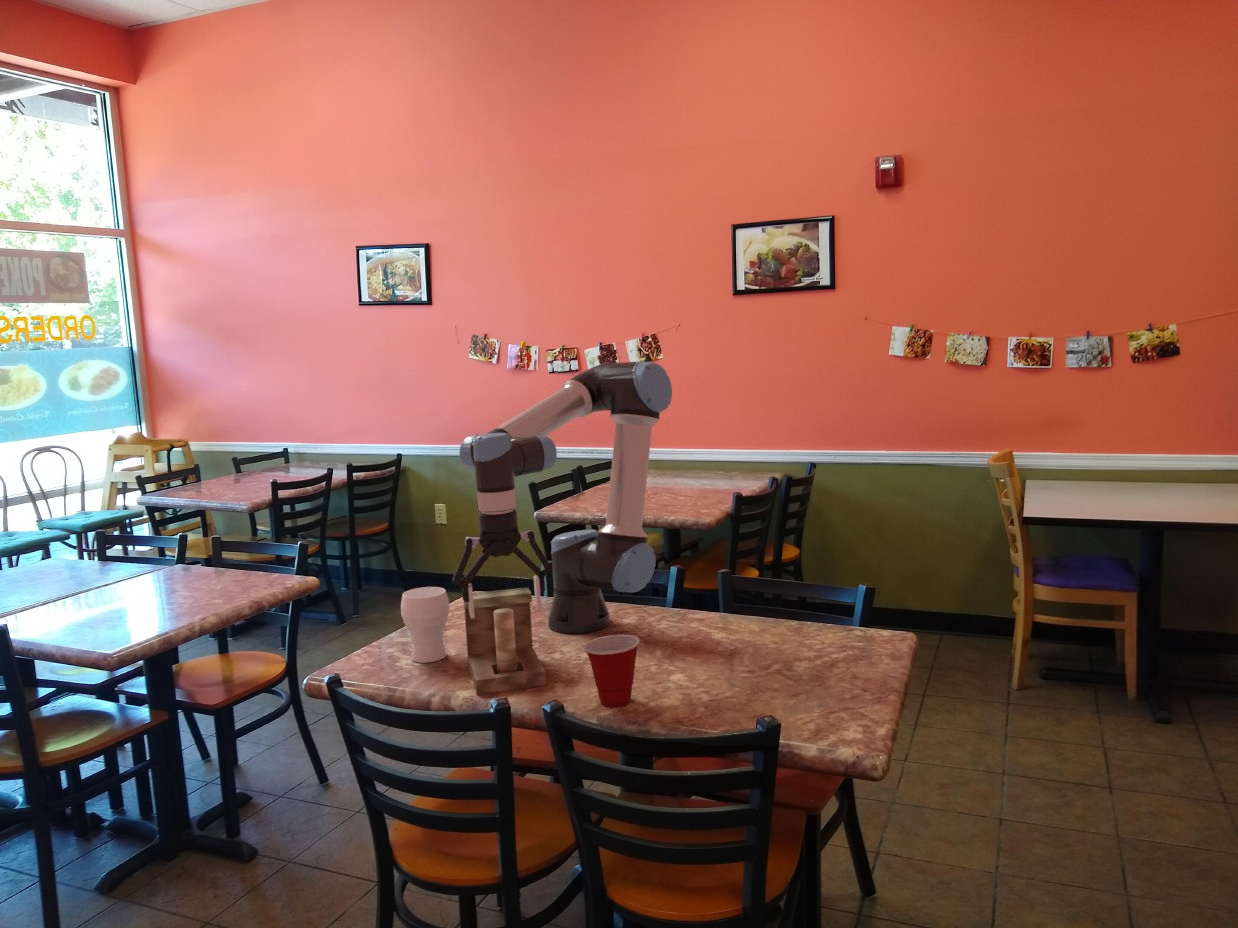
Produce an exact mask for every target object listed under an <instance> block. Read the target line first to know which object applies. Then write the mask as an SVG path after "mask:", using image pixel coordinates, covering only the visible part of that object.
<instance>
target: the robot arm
mask: <svg viewBox="0 0 1238 928" xmlns="http://www.w3.org/2000/svg"><path fill="white" fill-rule="evenodd" d="M672 398H673V388H672V382H671V379H670V377H669V375H668V373H667V371H666V370H665V368H664V367H663V366H662V365H660V364H659V363H656V362H652V361H642V360H638V361H626V362H625V361H624V362H605V363H601V364H598V365H594V366H593V367H590V368H588V369H586V370H584V371H582V372H580V373H579V374H577V375H574V376H573V377H572V378H569V379H568V380H566V381H565V382H563V384H562V385H561V387H560V390H558V391H556V392H554V393H552V394H551V395H549V396H548V397H545V398H544V399H542V400H541V401H539V402H537V403H536V404H534V405H532V406H530V407H528V408H527V409H526V410H524V411H522V412H521V413H519V414H517V415H516V416H514V417H512V418H510V419H509V420H507V421H506V422H504V423H502V424H501V425H499V426H497V427H495V428H493V429H492V430H490V431H488V432H486V433H483V434H475V435H468V436H467V437H466V438H464V440H462V442H461V444H460V445H459V446H460V447H459V457H460V460H461V463H462V464H463V466H465V467H466V468H467V469H471V470H474V472H475V482H476V490H477V491H476V493H477V504H478V506H477V507H478V510H479V511H480V513H479V514H478V519H479V529H480V534H479V537H471V536H469V535H467V536H466V537H464V538H465V539H464V549H463V550H462V553H461V556H460V559H459V561H458V563H457V565H456V568H455V571H454V573H453V575H452V579H451V581H452V585H454V586H460V587H461V592H462V593H461V594H462V601H463V603H464V602H469V611H470V617H471V619H473V618H475V614H474V603H473V593H474V592H473V585H472V583H471V582H472V581H473V579H474V578H475V576H476V575H477V574H478V572H479V571H480V570H481V568H482V567H483V565H484V564H485V562H486V561H488V560H489V558H490V557H493V558H499V557H501V556H504V557H508V556H510V555H512V554H514V555H516V557H518V558H519V559H520V560H521V561H522V562H523V563H524V564H525V565H526V566H527V567H528V568H529V569H530V570H532V572H533V573H535V575H533V587H534V589H533V590H534V602H535V603H534V604H535V608H536V609H537V610H538V611H539V610H542V599H541V597H542V596H541V593H545V591H546V586H545V585H546V584H545V577H546V576H547V575H548V574H552V581H553V598H552V602H551V605H550V608H549V609H550V610H549V613H548V617H547V621H548V623H547V624H548V628H549V629H551V630H552V631H555V632H559V633H565V634H583V633H590V632H591V633H592V632H597V631H600V630H602V629H605V628H606V627H608V626H609V625H610V623H611V619H610V617H611V616H610V615H611V614H610V611H609V609H608V606H607V604H606V601H605V599H604V596H603V593H602V589H605V590H611V591H612V590H613V591H616V592H618V593H621V592H622V593H636V592H639V591H641V590H642V589H644V588H645V587H646V585H647V584H649V582H650V581H651V579H652V577H653V574H654V573H655V567H656V564H657V563H656V561H657V560H656V554H655V553H654V552H655V551H654V548H652V546H650V545H649V544H648V535H647V533H646V532H645V530H643V520H644V509H645V499H646V491H647V490H646V489H647V479H648V471H649V460H650V449H651V442H652V441H651V439H652V432H653V431H652V429H653V427H654V426H655V425H656V424H657V423H659V421H660V413H662V412H664V411H666V410H667V409H668V407H669V406H670V405H671V401H672ZM604 411H605V412H607V411H609V412H610V415H609V416H610V418H611V419H612V420H613V422H614V423H615V430H614V438H613V449H612V450H613V451H612V461H611V469H610V479H609V488H608V489H609V490H608V499H607V510H606V516H605V517H606V519H605V524H604V526H603V527H602V528H600V529H599V530H597V529H582V530H574V531H569V532H568V531H567V532H563V533H560V534H557V535H555V536H554V537H553V538H552V540H551V552H550V555H551V557H550V558H551V564H550V563H549V561H548V560H547V558H546V556H545V555H544V553H543V552H542V550H541V548H540V547H539V545H538V544H537V542H536V538H535V537H536V536H535V532H534V531H533V530H532V529H529V528H528V529H526V531H522V532H521V531H519V527H518V516H517V515H518V513H517V511H516V509H515V508H517V502H516V501H517V500H516V491H515V488H516V487H515V478H517V477H521V476H525V475H526V476H527V475H530V474H535V473H542V472H544V471H547V470H550V469H551V468H553V466H554V465H555V463H556V462H557V457H558V455H557V454H558V452H557V447H556V444H555V442H554V441H553V440H552V439H551V438H550V437H548V436H549V435H550V434H551V433H554V432H555V431H557V430H558V429H560V428H561V427H563V426H564V425H566V424H568V423H569V422H571V421H573V420H574V419H576V418H585V417H587V416H589V415H590V414H592V413H596V412H604ZM521 539H523V540H524V542H526V543H528V544H529V545H530V547H531V549H532V550H533V552H534V554H535V555H536V557H537V559H538V560H539V562H540V563H541V565H542V566H543V567H541V568H540V567H539V566H538V565H537V564H536V563H535V562H534V561H533V560H532V559H531V558H530V557H529V556H527V554H526V553H525V552H524V551H522V550H521V549H520V547H518V544H519V543H520V541H521ZM477 545H480V546H481V547H482V548H483V549H482V550H481V551H480V553H479V555H478V556H477V558H476V559H475V561H474V562H473V563H472V565H471V566H470V567H469V569H468V571H467V572H466V573H465V574H464V571H465V569H466V567H467V564H468V562H469V559H470V556H471V554H472V550H473V549H475V548H477V547H476V546H477ZM463 574H464V576H463ZM462 576H463V577H462Z"/></svg>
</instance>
